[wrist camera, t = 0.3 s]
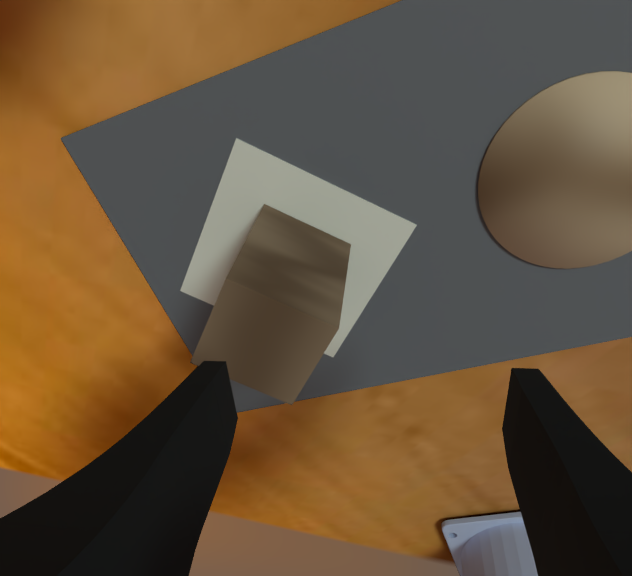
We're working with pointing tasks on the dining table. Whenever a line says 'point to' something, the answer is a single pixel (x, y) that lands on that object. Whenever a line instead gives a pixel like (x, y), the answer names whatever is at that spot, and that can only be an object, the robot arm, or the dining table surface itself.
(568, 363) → the dining table surface
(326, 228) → the card
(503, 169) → the cork coaster
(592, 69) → the charcoal mat
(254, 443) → the dining table surface
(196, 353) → the walnut block
